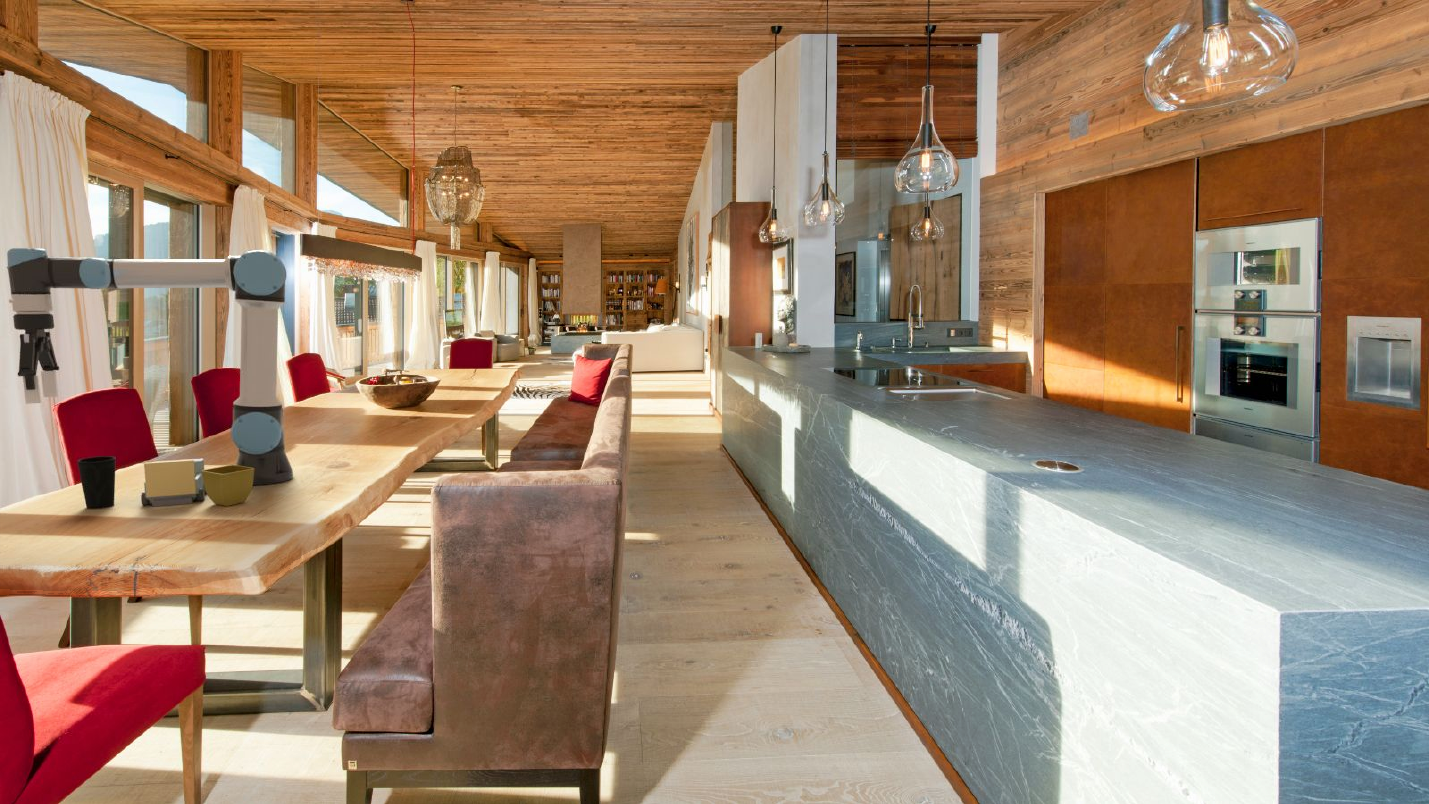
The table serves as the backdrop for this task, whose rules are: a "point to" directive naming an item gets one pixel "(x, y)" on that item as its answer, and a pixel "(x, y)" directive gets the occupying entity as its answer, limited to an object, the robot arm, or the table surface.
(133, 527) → the table surface
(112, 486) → the cup
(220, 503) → the flower pot
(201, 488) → the truck
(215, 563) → the table surface
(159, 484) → the panel
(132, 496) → the table surface
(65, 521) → the table surface
